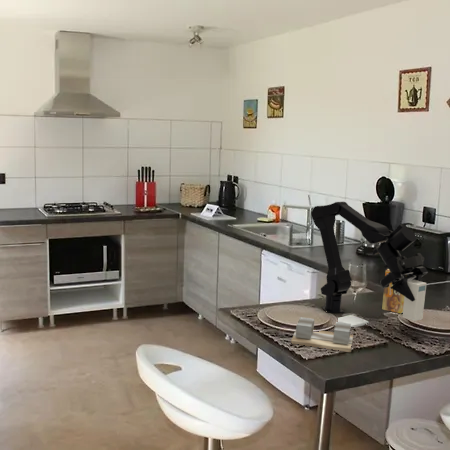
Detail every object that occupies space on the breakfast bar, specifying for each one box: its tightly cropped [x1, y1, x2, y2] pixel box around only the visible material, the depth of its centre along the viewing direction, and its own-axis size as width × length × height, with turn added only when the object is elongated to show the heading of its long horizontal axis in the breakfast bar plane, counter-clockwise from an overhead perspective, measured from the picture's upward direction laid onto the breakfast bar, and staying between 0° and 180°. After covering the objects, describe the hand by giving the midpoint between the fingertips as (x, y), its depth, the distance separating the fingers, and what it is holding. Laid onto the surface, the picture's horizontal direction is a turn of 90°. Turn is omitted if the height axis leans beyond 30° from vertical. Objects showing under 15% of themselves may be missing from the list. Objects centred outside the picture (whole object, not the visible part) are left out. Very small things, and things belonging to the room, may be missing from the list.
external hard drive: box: [337, 314, 369, 328], centre depth 203 cm, size 2×8×12 cm
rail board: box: [290, 316, 354, 353], centre depth 185 cm, size 13×18×5 cm
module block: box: [401, 280, 427, 322], centre depth 189 cm, size 5×4×12 cm
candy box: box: [381, 269, 404, 314], centre depth 218 cm, size 9×4×15 cm, turn 54°
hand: (418, 299), depth 188 cm, fingers closed on module block, 4 cm apart
